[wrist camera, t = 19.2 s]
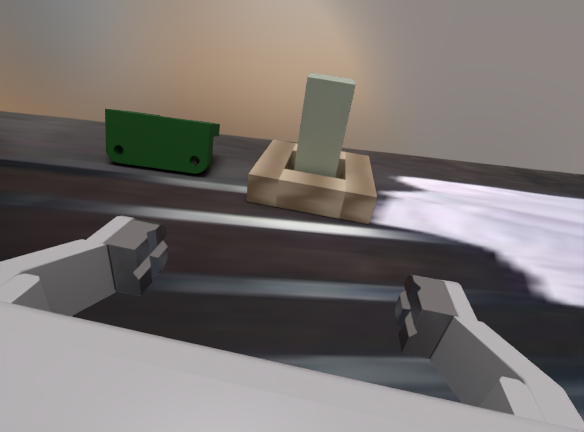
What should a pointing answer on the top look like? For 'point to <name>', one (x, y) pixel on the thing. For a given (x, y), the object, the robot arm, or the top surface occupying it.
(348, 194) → the socket block
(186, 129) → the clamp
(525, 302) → the top surface
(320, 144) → the peg
